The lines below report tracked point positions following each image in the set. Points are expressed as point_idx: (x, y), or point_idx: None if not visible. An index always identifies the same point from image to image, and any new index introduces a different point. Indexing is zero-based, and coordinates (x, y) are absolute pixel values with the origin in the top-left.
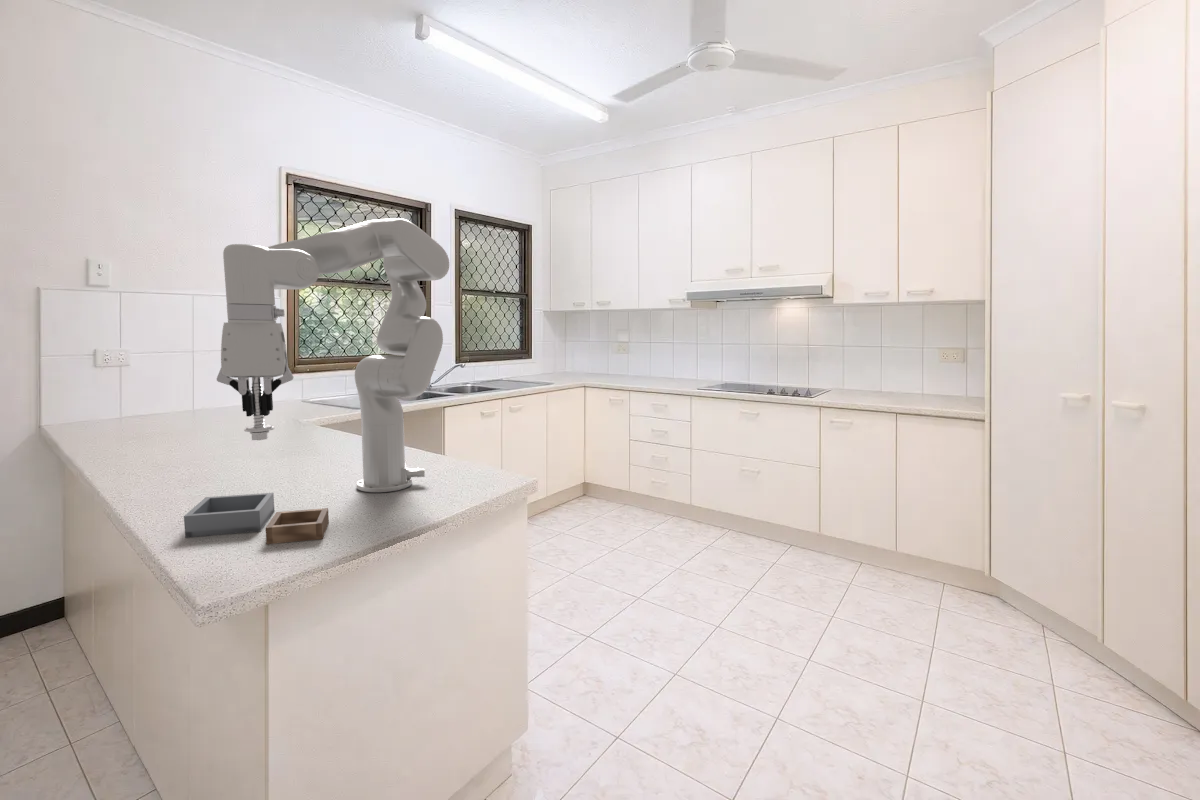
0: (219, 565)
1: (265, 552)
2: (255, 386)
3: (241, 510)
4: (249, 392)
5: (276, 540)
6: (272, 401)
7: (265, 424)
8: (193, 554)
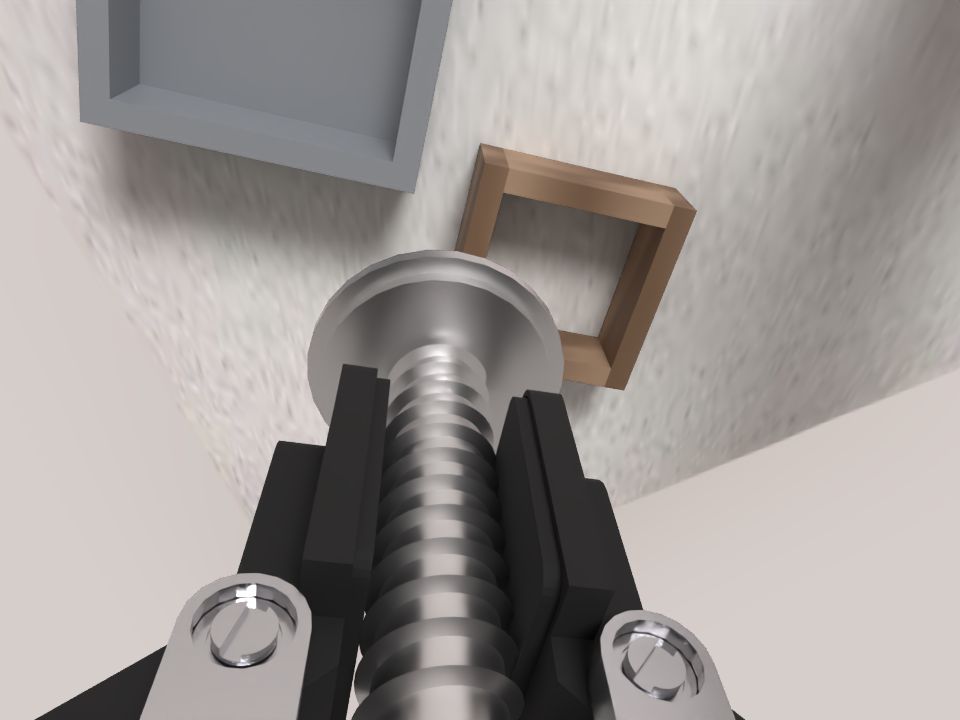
0: (311, 435)
1: None
2: None
3: (334, 151)
4: (329, 718)
5: None
6: (619, 547)
7: (495, 300)
8: (211, 313)
